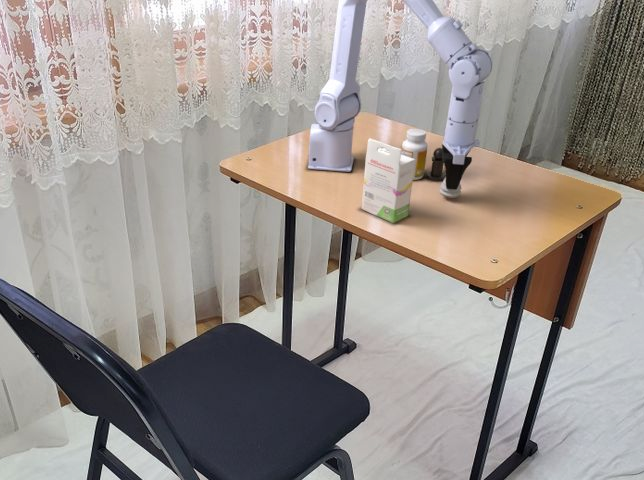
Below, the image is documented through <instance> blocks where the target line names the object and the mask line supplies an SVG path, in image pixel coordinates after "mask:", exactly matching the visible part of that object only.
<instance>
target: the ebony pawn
mask: <svg viewBox="0 0 644 480" xmlns="http://www.w3.org/2000/svg"><path fill="white" fill-rule="evenodd" d="M443 153H444V152H443V149H442V147H436V149H434V151H433V154H432V155H433V156H432V157H431V162H432V163H431V167H430V168H431V169H430V170H429V171H428V172H426V179H428V180H429V181H433V182H443V180H444V179H445V177H446V173H445V172H444V166H445V165H444V162H443V159H442V154H443Z"/></svg>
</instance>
